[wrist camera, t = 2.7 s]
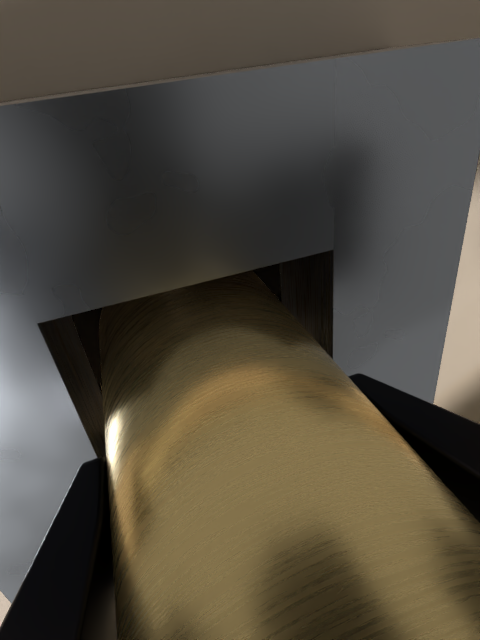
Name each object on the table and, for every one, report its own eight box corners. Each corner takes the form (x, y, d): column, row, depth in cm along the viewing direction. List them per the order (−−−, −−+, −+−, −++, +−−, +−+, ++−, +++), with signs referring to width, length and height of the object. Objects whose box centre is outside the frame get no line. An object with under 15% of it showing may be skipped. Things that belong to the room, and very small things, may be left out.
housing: (367, 416, 16) (419, 478, 13) (44, 530, 13) (35, 631, 11) (393, 47, 10) (501, 35, 7) (-213, 131, 7) (-371, 158, 5)
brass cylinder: (274, 370, 13) (555, 794, 5) (125, 416, 12) (202, 1020, 4) (261, 228, 11) (758, 634, 3) (73, 271, 10) (26, 1087, 2)
